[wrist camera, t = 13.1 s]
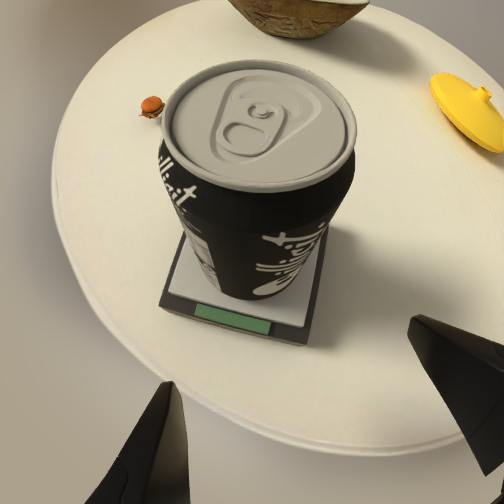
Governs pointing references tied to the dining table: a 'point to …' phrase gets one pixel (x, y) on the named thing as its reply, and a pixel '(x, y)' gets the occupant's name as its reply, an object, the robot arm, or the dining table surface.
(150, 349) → the dining table surface
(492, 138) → the vase
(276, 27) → the bowl
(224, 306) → the scale
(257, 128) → the beverage can
